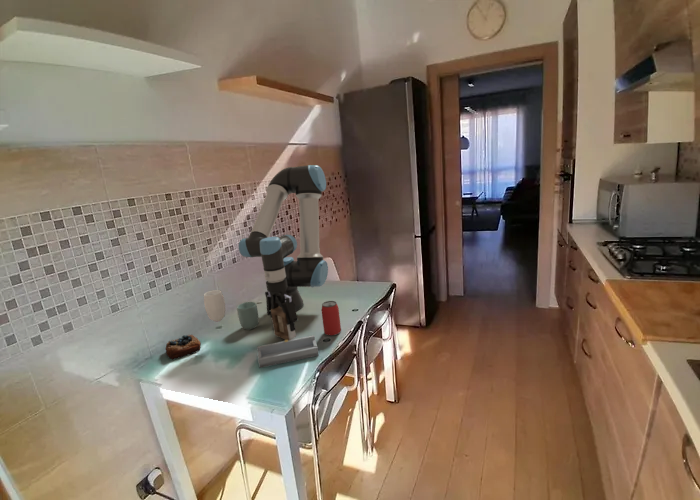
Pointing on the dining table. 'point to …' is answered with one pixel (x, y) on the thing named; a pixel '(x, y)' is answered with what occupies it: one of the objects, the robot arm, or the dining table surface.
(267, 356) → the grey trough
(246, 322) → the cup
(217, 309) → the cup
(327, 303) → the beer can
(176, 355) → the pastry
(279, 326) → the frame
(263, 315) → the dining table surface
